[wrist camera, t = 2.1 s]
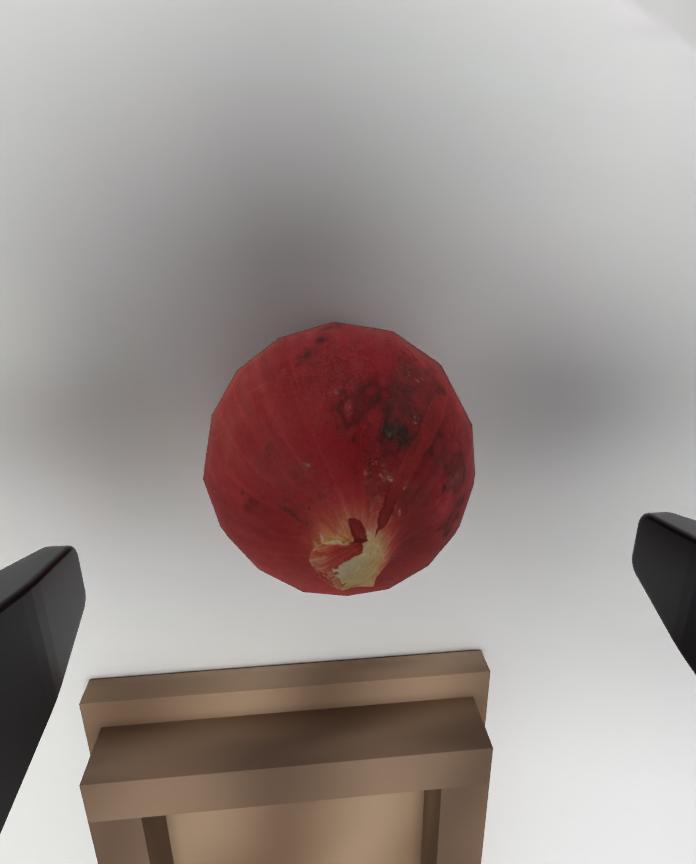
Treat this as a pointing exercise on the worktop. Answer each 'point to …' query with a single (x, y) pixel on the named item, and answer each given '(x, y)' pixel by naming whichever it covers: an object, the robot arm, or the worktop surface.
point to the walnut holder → (291, 763)
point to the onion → (340, 460)
